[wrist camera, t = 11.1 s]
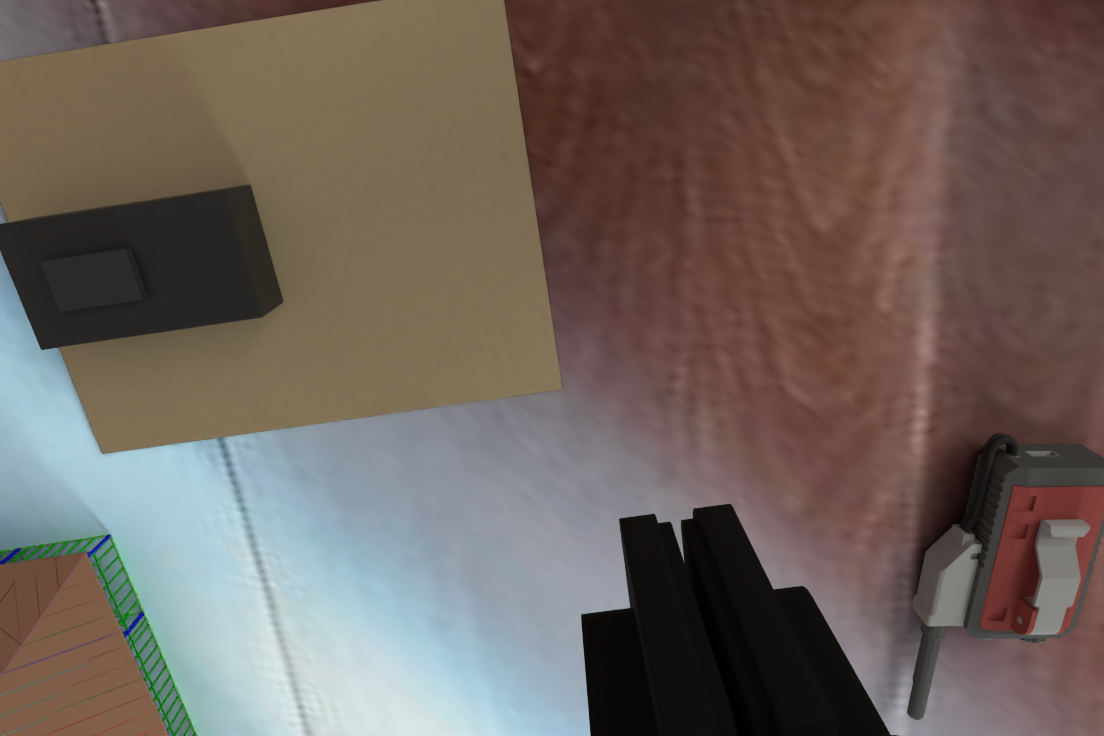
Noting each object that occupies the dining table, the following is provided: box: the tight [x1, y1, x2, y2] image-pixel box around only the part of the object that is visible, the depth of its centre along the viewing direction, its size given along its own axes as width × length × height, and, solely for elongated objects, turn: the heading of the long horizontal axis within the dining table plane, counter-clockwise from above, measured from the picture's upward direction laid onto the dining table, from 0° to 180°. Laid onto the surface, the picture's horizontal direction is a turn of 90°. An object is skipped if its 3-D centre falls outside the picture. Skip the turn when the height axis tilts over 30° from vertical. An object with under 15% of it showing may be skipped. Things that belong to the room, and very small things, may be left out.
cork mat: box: [0, 0, 562, 454], centre depth 35 cm, size 20×26×1 cm
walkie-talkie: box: [907, 433, 1104, 720], centre depth 41 cm, size 9×4×20 cm
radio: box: [0, 185, 284, 350], centre depth 34 cm, size 6×4×11 cm
